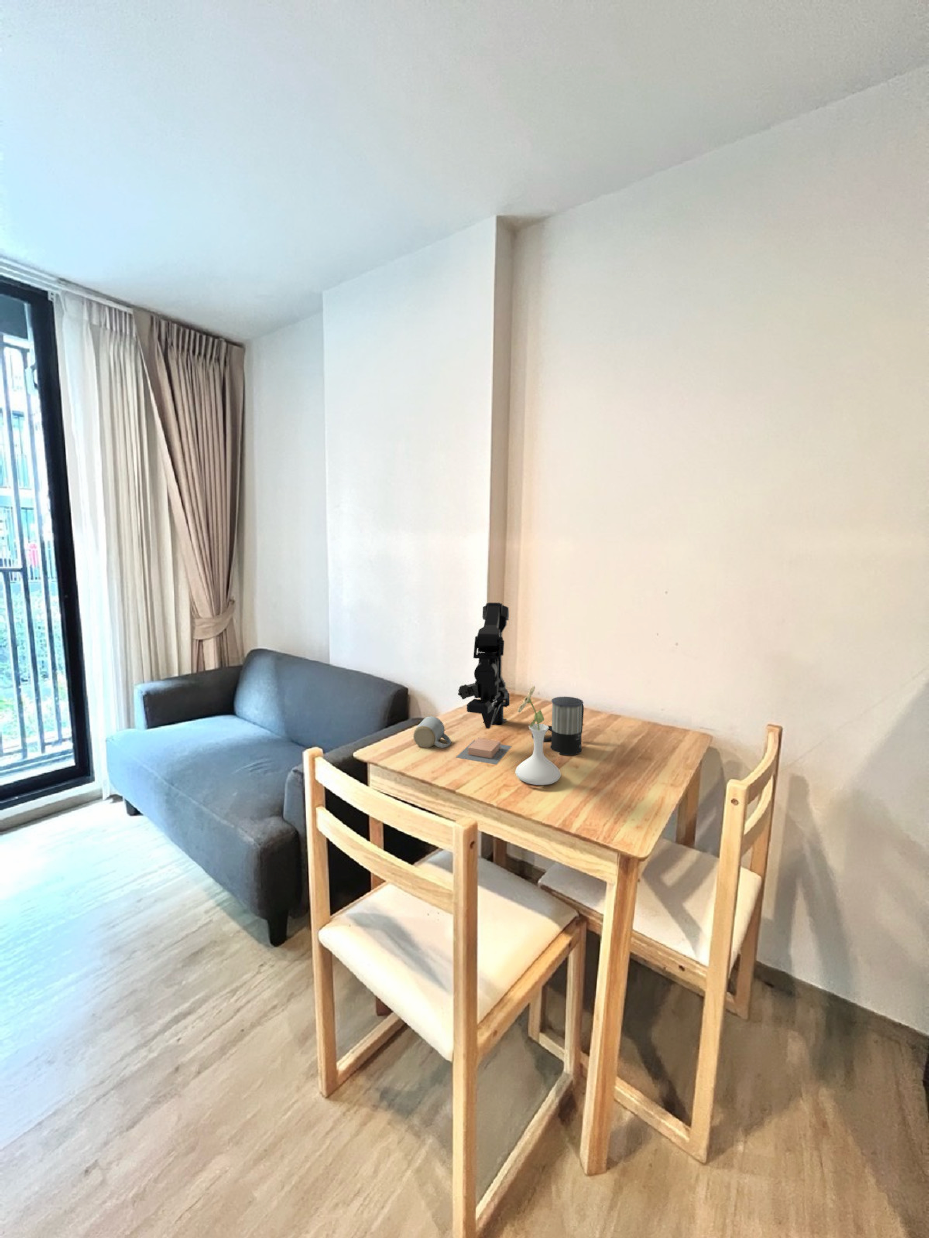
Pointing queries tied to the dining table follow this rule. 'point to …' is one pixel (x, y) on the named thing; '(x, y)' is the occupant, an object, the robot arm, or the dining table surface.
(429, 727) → the ceramic mug
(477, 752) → the picture frame
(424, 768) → the dining table surface
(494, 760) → the mat
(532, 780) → the flower in vase
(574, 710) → the milk frother
